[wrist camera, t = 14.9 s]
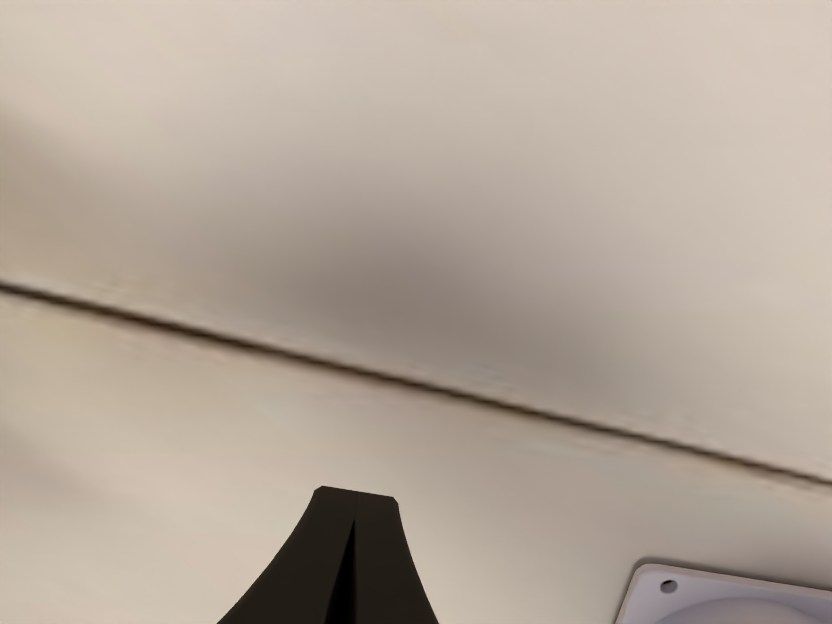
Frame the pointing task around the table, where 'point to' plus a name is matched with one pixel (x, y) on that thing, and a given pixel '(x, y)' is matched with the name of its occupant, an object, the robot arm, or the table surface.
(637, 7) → the table surface
